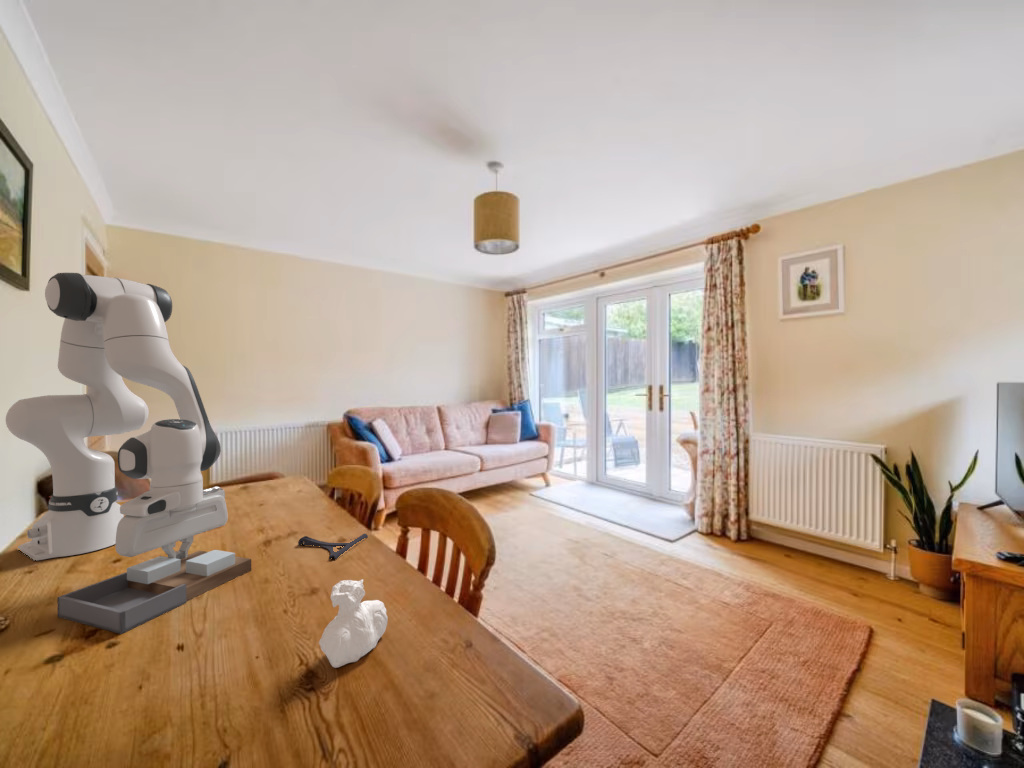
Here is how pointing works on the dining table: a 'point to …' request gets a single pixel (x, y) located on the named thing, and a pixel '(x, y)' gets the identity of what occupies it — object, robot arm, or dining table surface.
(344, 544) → the bracket
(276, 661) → the dining table surface
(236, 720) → the dining table surface
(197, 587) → the board
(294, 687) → the dining table surface
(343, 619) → the bust
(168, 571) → the tile
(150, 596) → the tray
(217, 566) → the tile
